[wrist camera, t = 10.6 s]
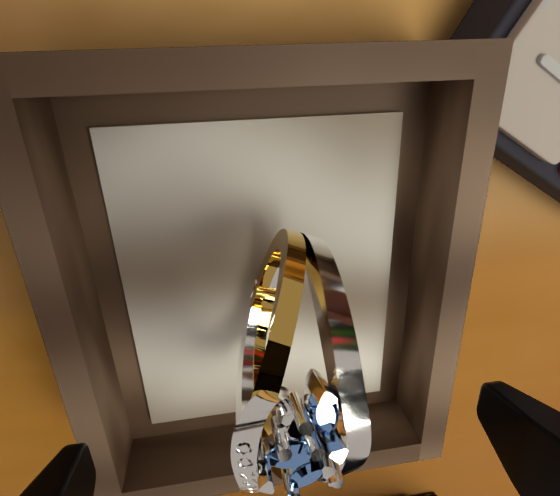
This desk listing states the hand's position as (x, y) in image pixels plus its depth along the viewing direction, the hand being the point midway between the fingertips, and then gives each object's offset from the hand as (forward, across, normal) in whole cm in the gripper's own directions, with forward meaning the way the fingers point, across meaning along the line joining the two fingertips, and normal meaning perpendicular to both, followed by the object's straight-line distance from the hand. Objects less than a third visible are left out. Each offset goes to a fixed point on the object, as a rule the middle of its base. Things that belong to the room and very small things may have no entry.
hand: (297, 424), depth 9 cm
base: (+10, 0, 0) cm, 10 cm away
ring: (+7, 0, 0) cm, 7 cm away
